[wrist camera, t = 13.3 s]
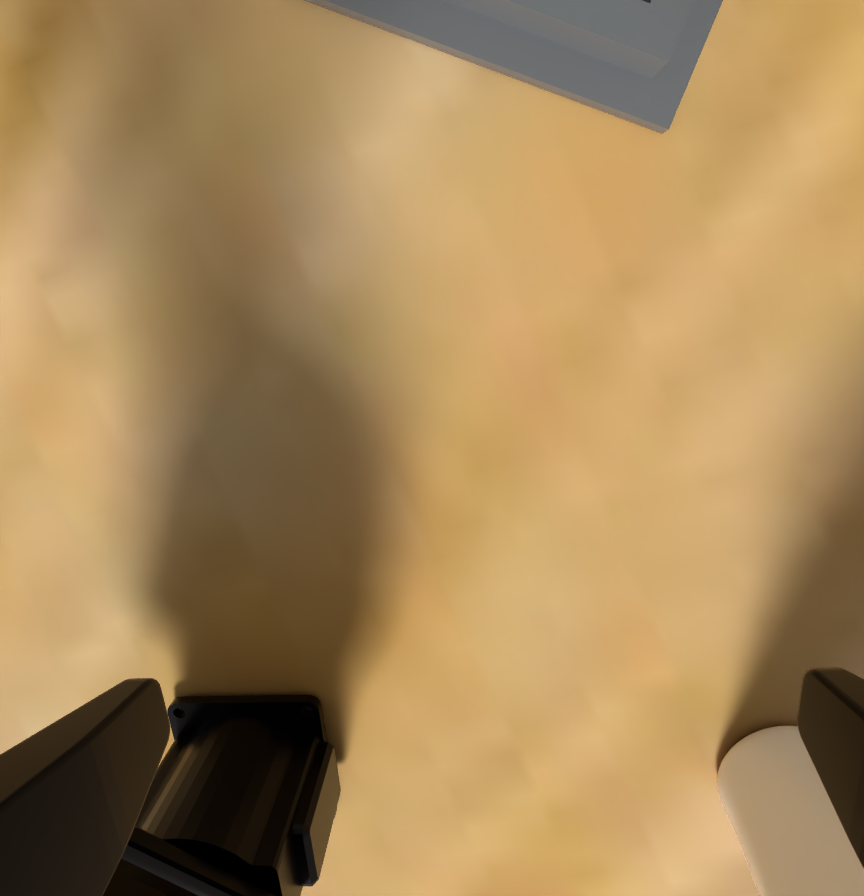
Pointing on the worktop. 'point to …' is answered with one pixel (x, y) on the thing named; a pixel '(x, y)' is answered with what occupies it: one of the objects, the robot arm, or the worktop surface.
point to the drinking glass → (786, 818)
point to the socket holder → (564, 44)
